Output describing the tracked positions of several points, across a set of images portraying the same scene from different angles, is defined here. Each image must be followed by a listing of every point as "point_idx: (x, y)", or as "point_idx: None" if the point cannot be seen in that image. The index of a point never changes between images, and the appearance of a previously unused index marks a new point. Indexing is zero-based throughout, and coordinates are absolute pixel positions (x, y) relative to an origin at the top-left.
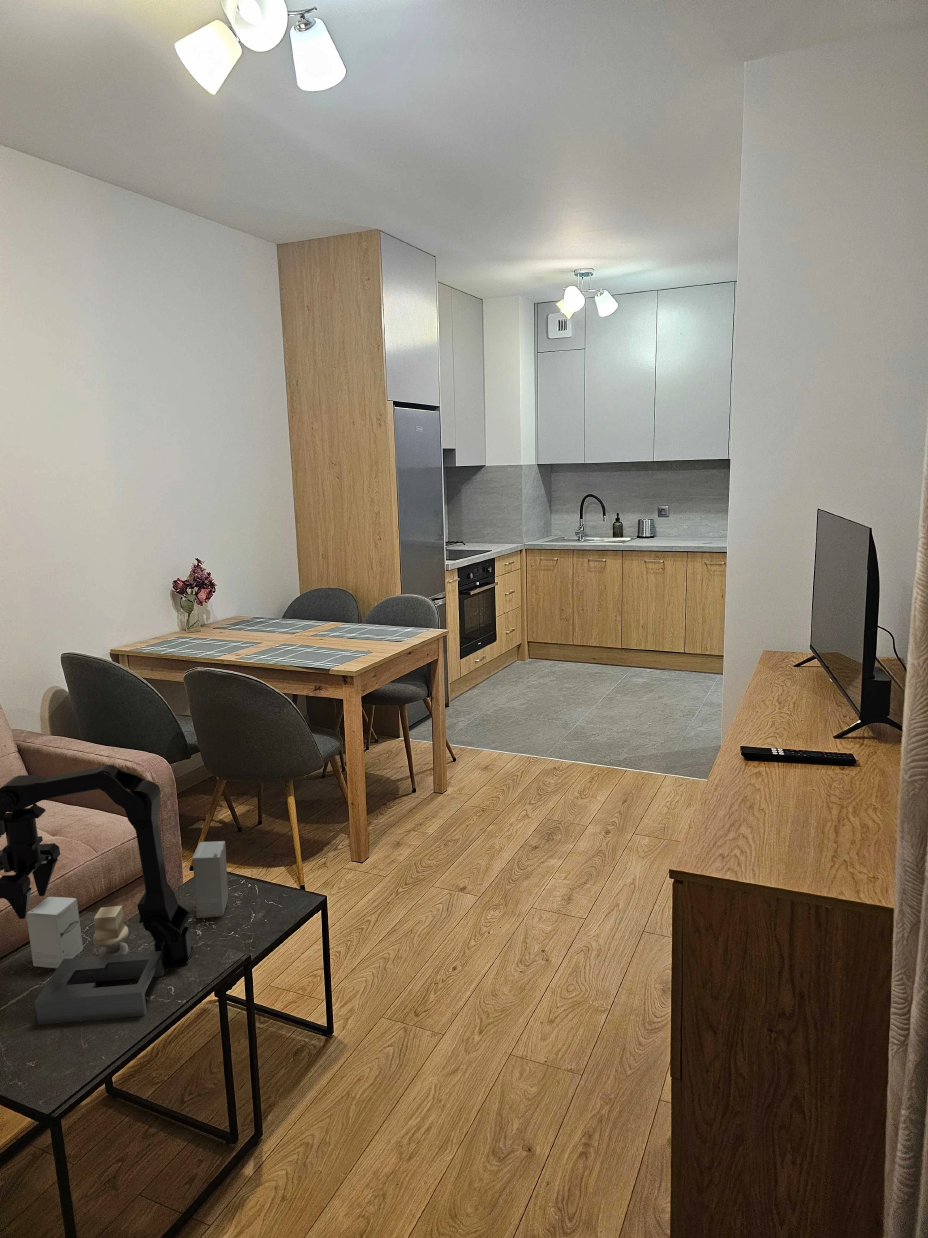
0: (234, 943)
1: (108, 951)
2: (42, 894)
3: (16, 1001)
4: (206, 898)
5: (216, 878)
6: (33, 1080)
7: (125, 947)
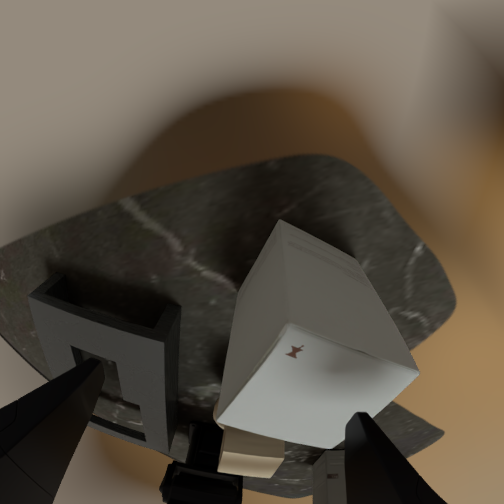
0: None
1: None
2: (348, 431)
3: (124, 211)
4: (319, 484)
5: None
6: None
7: None
